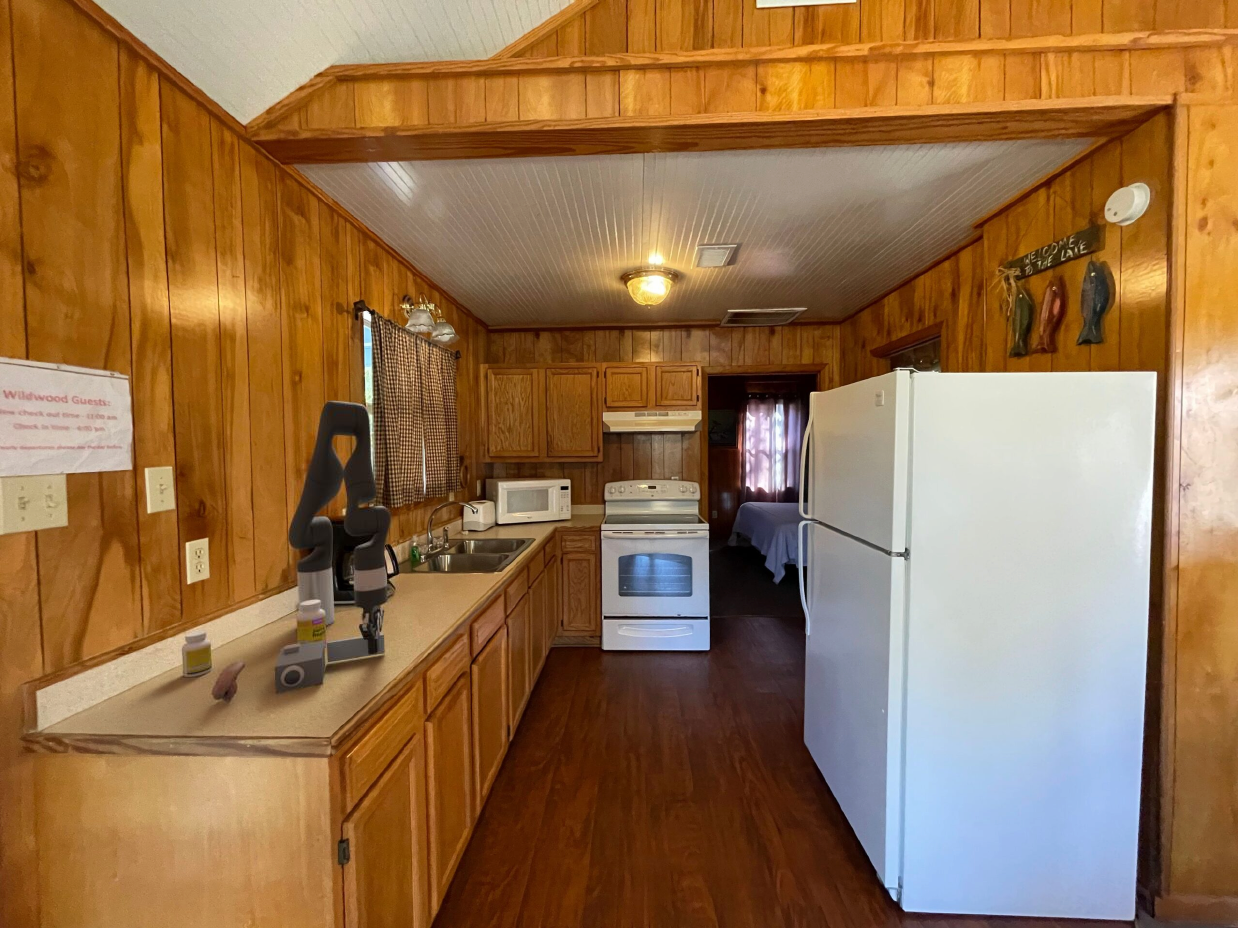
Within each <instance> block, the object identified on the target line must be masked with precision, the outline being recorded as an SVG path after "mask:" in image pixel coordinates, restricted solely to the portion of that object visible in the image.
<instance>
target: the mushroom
mask: <svg viewBox="0 0 1238 928" xmlns="http://www.w3.org/2000/svg"><path fill="white" fill-rule="evenodd" d="M245 667H246V664H245V662H243V661H241V660H240V661H234V662H232V663H230V664H228V665H227V666H226V667H225V668H224V669H223V670H222V671H221V672H220V674H219V675H218V677H217V679H216V681H215V684H214V685H213V687H212V692H211V695H212V697H213V699H215V701H216V700H217V701H220V700H222V701H224V702H225V703H227V704H228V703H230V702H231V701H232V699H233V698H234V696H235V695H236V693H237V690H238V688H239V687H238V682H236V680H237V677H238V676H239V675H240V673H241V672H242V671H243V669H245Z"/></svg>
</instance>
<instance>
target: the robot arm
mask: <svg viewBox="0 0 1238 928" xmlns="http://www.w3.org/2000/svg"><path fill="white" fill-rule="evenodd" d="M369 415H370V414H369V411H368V408H367V407H366V406H365V405H364V404H360V403H356V402H348V401H347V402H346V401H340V400H339V401H337V400H328V401H327V402H326V403H324V405H323V407H322V409H321V413H320V416H319V417H320V418H319V423H318V430H317V434H316V441H315V445H314V448H313V453H312V456H311V460H310V463H309V466H308V469H307V473H306V476H305V480H304V485H303V489H302V493H301V495H300V500H299V503H298V504H297V508H296V510H295V513H294V515H293V517H292V519H291V522H290V524H289V529H288V537H287V538H288V542H289V545H290V546H291V547H292V548H293V549H295V550H305V549H312V548H314V549H313V551H312V552H311V553H310V554H309V555H307V556H305V557H304V558H301V559H300V560H299V561H297V564H296V573H297V576H296V577H297V593H298V595H297V596H298V614H299V613H300V612H302V610H301V608H300V604H301V603H302V602H305V601H308V600H320V601H321V605H320V609H323V610H324V611H325V620H326V626H328V625H331V624H333V623H334V622H335V604H334V603H335V601H334V584H333V579H334V578H333V563H332V562H333V558H334V557H333V554H334V553H333V549H334V548H333V545H334V544H333V542H334V541H333V540H334V539H333V538H334V535H333V534H334V531H333V525H332V522H331V520H330V519H329V517H327V516H321V515H320V516H316V515H317V514H318V513H319V512H320V511H321V510H322V509H324V508H325V507H326V506H327V505H328V504H329V503H330V502H332V501H333V500H334V499H335V498H336V496H337V495H338V494H339V492H340V490H341V488H342V484H343V482H344V488H345V492H346V508H345V515H344V520H343V527H344V530H345V532H346V533H347V534H348V535H349V536H351V537H361V536H369V535H373V537H372V538H371V540H369V541H368V542H365V543H362V544H360V545H357V546H355V548H354V550H353V568H354V571H353V593H354V596H353V597H354V598H353V599H354V606H355V607H357V608H361V609H362V613H361V616H360V617H361V621H362V623H359V626H358V629H359V631H360V633H361V637H363V639H364V640H368V653H369V654H376V653H377V652H378V651H379V636H380V634H381V632H382V630H383V622H384V615H385V609H383V608H382V607H381V606H382V605H385V604H386V603H387V602H388V599H389V597H388V594H389V593H388V577H387V576H388V575H387V570H386V556H385V553H386V552H385V551H386V550H385V549H386V543H387V537H388V533H389V530H390V527H391V521H392V520H391V519H392V517H391V513H390V510H389V509H388V508H387V507H385V506H383V505H376V506H375V505H374V506H365V507H360V505H364V504H367V503H370V502H372V501H374V500H375V499H376V498H377V495H378V489H377V486H376V485H377V483H376V480H375V476H374V472H373V465H372V463H373V462H372V442H371V441H372V440H371V422H370V416H369ZM335 436H347V437H348V436H349V437H355V443H356V444H355V447H354V449H353V452H352V453H351V455H350V456H349V458H348V460H347V461H346V463H345V465H343V463H342V461H341V460H340V459H341V458H339V456H338V453H337V452H336V450H335V447H334V445H333V441H334V438H335Z"/></svg>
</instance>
